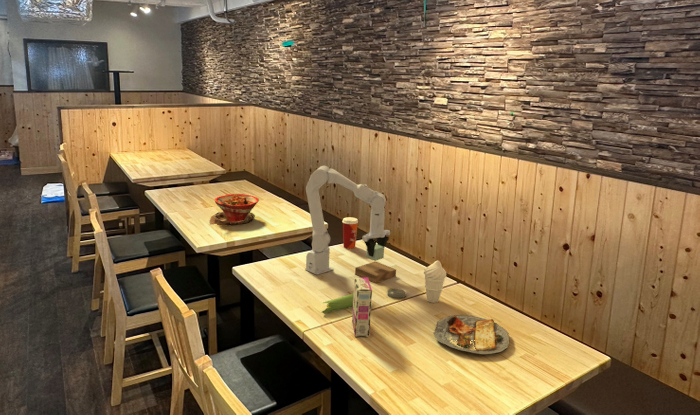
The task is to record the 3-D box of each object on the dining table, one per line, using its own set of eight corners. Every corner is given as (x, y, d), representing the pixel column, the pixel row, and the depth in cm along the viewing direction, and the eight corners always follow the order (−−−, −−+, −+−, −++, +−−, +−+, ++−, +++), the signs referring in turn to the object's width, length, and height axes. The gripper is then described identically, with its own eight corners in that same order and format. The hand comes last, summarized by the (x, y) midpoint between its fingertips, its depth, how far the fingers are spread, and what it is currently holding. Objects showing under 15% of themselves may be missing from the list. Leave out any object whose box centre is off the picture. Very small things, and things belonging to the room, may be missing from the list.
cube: (375, 260, 218) (375, 249, 217) (366, 257, 222) (367, 246, 221) (383, 258, 222) (384, 246, 220) (374, 254, 225) (375, 243, 224)
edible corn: (371, 295, 193) (364, 287, 196) (322, 307, 183) (316, 299, 187) (368, 305, 196) (362, 298, 199) (320, 318, 186) (314, 310, 189)
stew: (231, 230, 274) (231, 200, 270) (199, 222, 287) (198, 193, 283) (268, 219, 297) (268, 191, 293) (237, 211, 309) (236, 184, 305)
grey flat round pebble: (397, 301, 200) (397, 297, 199) (383, 295, 204) (383, 291, 204) (409, 296, 204) (409, 292, 204) (395, 290, 209) (395, 287, 209)
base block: (375, 283, 215) (376, 276, 214) (355, 274, 223) (355, 267, 222) (395, 276, 223) (396, 269, 222) (375, 267, 231) (375, 261, 230)
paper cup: (355, 250, 252) (356, 222, 249) (339, 248, 254) (340, 220, 250) (358, 245, 260) (359, 217, 256) (343, 243, 261) (344, 216, 257)
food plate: (440, 315, 189) (441, 306, 188) (508, 327, 182) (509, 318, 181) (429, 351, 165) (430, 341, 164) (507, 366, 159) (508, 355, 158)
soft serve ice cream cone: (430, 306, 195) (433, 265, 191) (417, 298, 202) (420, 258, 198) (448, 303, 199) (452, 262, 195) (435, 294, 206) (438, 255, 202)
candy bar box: (370, 337, 171) (372, 290, 167) (354, 337, 171) (356, 290, 167) (366, 321, 182) (368, 276, 178) (351, 321, 182) (353, 276, 177)
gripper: (371, 228, 210) (370, 260, 214) (396, 222, 220) (394, 253, 223) (359, 224, 215) (357, 256, 218) (383, 218, 225) (382, 248, 228)
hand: (375, 254), depth 221 cm, fingers closed on cube, 5 cm apart
